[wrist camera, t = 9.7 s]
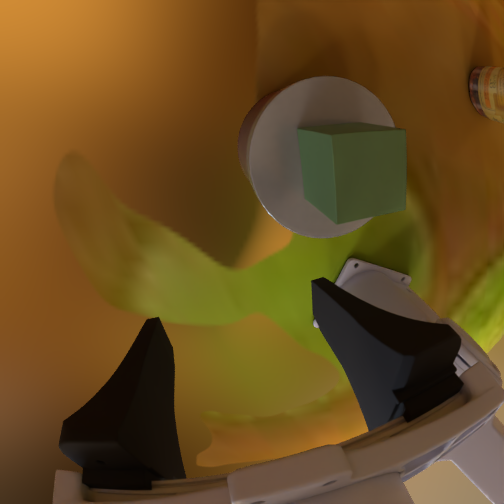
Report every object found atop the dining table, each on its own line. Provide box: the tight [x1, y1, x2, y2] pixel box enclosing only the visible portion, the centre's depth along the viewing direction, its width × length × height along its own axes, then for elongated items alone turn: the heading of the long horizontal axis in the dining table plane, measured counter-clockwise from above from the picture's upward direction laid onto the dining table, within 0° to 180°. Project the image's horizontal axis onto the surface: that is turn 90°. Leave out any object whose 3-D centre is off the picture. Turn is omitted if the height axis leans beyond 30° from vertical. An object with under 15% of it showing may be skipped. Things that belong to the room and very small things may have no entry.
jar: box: [238, 76, 395, 238], centre depth 18 cm, size 10×10×6 cm
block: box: [297, 122, 407, 225], centre depth 14 cm, size 4×4×4 cm
